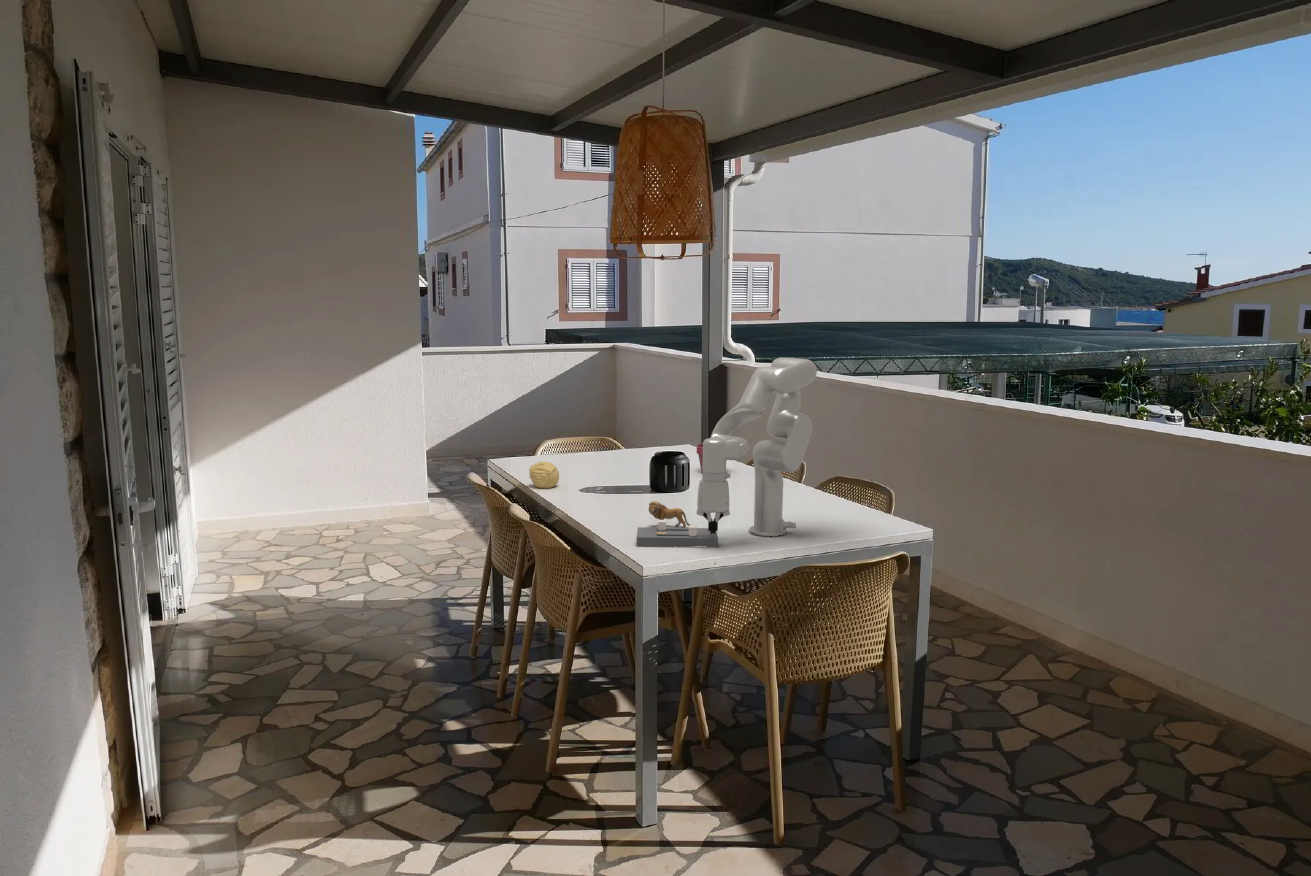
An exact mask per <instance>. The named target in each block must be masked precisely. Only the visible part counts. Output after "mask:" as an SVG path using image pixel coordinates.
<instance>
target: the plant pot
mask: <svg viewBox="0 0 1311 876" xmlns="http://www.w3.org/2000/svg"><path fill="white" fill-rule="evenodd" d="M696 454H697V455H698V461H699V465H700V471H701V472H702V466H703V442H702V443H698V444H697V445H696Z"/></svg>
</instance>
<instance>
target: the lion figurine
mask: <svg viewBox="0 0 1311 876" xmlns="http://www.w3.org/2000/svg"><path fill="white" fill-rule="evenodd" d="M648 505H649V506H648V512H649V514H650V515H652V516H653V518H654V519H657V520H666V519H667V520H672V519H674V518H676V519H677V521H678V523H676V524H675V526H676V527H679V526H681V524H682V526H681V528H687V526H688V527H689V525H691V524H690V523H688V521H687V516H686V512H685V511H684V510H683V509H682V508H679V507H678V508H677V507H676V508H675V507H674V508H668V507H666V506H665V505H664V504H662V503H660V502H658V501H651V502H649V503H648Z"/></svg>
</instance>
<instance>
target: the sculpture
mask: <svg viewBox="0 0 1311 876" xmlns="http://www.w3.org/2000/svg"><path fill="white" fill-rule="evenodd" d="M528 470H529V471H528V472H529V479H530V480H531V482H532V485H533V486H534V487H536V488H537V489H551V488H554V487H556V486H557V485H558V482H559V480H560V471H559V469H558V467H557V466H556V465H554V464H553V463H552V462H547V461H539V462H537V463H535V464H532V465H530V467H529V469H528Z"/></svg>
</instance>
